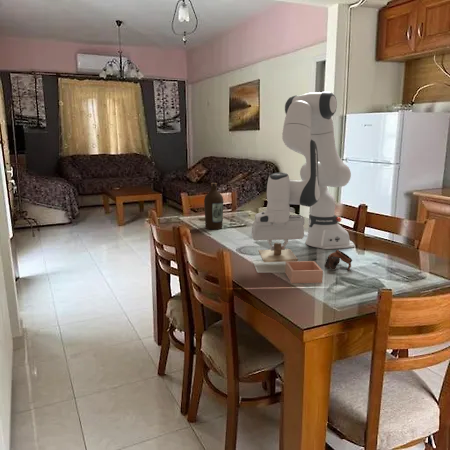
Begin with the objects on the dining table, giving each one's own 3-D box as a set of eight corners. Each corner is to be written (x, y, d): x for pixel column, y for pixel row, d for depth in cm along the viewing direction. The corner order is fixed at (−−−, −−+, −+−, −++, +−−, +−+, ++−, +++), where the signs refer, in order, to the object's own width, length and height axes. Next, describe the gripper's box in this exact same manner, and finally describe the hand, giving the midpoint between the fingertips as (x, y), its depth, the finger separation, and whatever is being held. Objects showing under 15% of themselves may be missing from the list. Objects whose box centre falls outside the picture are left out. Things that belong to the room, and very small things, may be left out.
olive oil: (200, 227, 232) (200, 182, 226) (216, 224, 238) (216, 181, 232) (211, 231, 223) (211, 184, 218) (227, 228, 230) (227, 183, 224)
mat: (291, 262, 171) (291, 260, 171) (299, 273, 157) (299, 271, 157) (252, 262, 170) (252, 261, 170) (257, 274, 156) (257, 272, 156)
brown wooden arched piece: (326, 264, 170) (337, 247, 168) (345, 278, 166) (357, 261, 164) (317, 264, 160) (329, 247, 158) (337, 279, 155) (350, 262, 154)
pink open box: (313, 273, 157) (314, 261, 156) (322, 284, 146) (322, 270, 145) (285, 274, 157) (285, 261, 155) (291, 284, 146) (291, 271, 145)
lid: (290, 250, 170) (290, 238, 168) (297, 260, 157) (298, 247, 156) (258, 251, 169) (258, 239, 168) (263, 262, 156) (263, 249, 155)
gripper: (302, 213, 163) (301, 246, 166) (250, 214, 162) (251, 248, 165) (306, 216, 157) (305, 251, 160) (253, 218, 155) (253, 253, 159)
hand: (277, 250), depth 162 cm, fingers closed on lid, 3 cm apart
